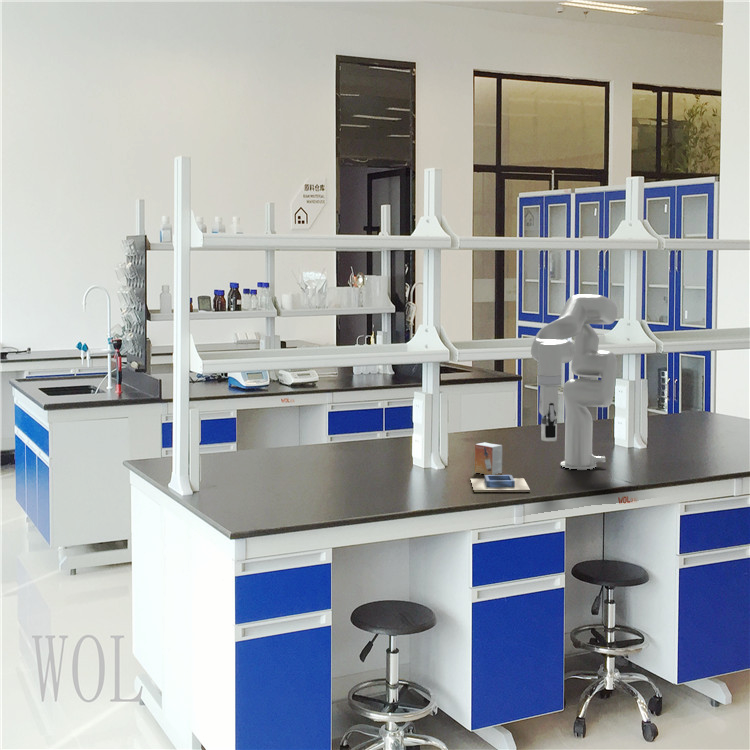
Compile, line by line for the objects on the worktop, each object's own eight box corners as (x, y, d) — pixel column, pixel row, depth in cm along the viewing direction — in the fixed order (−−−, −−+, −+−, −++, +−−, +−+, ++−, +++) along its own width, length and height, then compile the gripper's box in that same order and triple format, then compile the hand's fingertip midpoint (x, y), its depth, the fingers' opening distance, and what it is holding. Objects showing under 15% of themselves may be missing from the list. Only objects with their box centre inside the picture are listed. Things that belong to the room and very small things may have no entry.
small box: (474, 473, 344) (474, 444, 342) (484, 471, 348) (484, 441, 346) (492, 477, 338) (492, 447, 337) (502, 474, 342) (502, 444, 341)
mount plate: (523, 481, 332) (524, 472, 331) (529, 492, 316) (530, 483, 315) (470, 481, 332) (470, 472, 332) (473, 492, 316) (473, 483, 316)
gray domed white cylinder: (555, 438, 324) (555, 417, 323) (557, 441, 319) (558, 419, 318) (540, 438, 324) (540, 417, 323) (542, 441, 319) (542, 420, 318)
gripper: (534, 377, 328) (534, 431, 330) (541, 384, 311) (541, 441, 313) (557, 377, 328) (556, 430, 330) (565, 384, 311) (564, 440, 313)
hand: (549, 435), depth 322 cm, fingers closed on gray domed white cylinder, 5 cm apart
